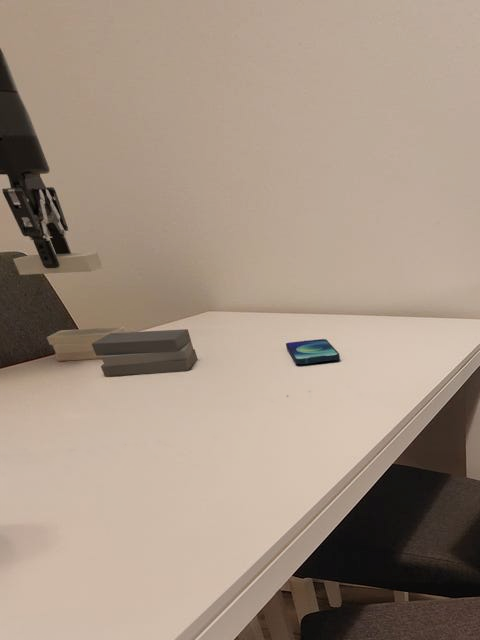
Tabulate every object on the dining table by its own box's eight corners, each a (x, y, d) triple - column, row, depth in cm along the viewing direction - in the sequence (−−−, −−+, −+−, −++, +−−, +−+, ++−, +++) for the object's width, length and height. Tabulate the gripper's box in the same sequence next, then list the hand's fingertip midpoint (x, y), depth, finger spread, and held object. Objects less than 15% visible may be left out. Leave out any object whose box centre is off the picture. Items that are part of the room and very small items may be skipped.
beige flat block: (19, 274, 96) (12, 258, 94) (34, 270, 100) (28, 255, 99) (91, 271, 97) (85, 255, 96) (102, 267, 102) (97, 252, 100)
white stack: (55, 362, 104) (44, 337, 102) (68, 353, 109) (59, 330, 107) (124, 357, 106) (115, 333, 103) (134, 349, 111) (126, 326, 109)
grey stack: (101, 377, 95) (88, 345, 92) (118, 363, 102) (107, 333, 99) (189, 371, 97) (179, 339, 94) (200, 358, 104) (191, 328, 101)
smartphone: (326, 338, 110) (340, 354, 99) (326, 343, 110) (341, 360, 99) (284, 342, 108) (294, 359, 97) (286, 348, 108) (296, 365, 97)
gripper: (2, 137, 93) (52, 262, 103) (-45, 131, 82) (17, 272, 92) (52, 136, 94) (97, 260, 104) (13, 130, 83) (68, 269, 93)
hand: (60, 265), depth 98 cm, fingers closed on beige flat block, 6 cm apart
